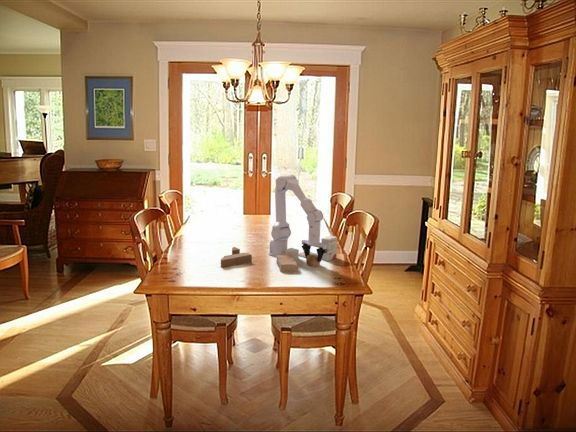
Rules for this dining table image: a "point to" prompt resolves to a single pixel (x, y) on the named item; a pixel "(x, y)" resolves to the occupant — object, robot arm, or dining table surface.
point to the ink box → (330, 248)
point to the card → (304, 254)
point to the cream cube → (292, 252)
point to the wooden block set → (236, 258)
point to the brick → (286, 263)
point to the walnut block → (312, 260)
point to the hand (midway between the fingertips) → (313, 260)
